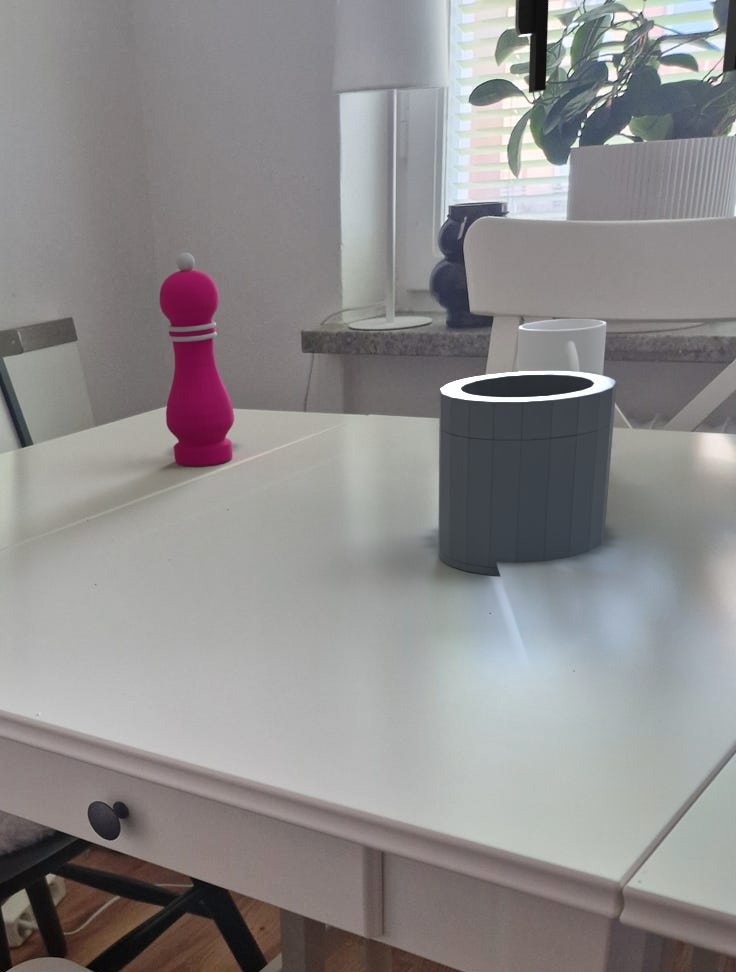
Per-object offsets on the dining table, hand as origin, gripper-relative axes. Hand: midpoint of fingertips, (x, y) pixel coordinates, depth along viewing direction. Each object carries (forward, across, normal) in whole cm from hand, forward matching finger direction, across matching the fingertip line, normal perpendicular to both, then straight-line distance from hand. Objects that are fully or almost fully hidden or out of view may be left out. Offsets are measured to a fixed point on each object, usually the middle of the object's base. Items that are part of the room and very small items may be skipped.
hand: (634, 81), depth 82 cm
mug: (+30, -1, +20) cm, 36 cm away
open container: (+30, -9, -10) cm, 33 cm away
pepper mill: (+29, -36, +30) cm, 55 cm away
